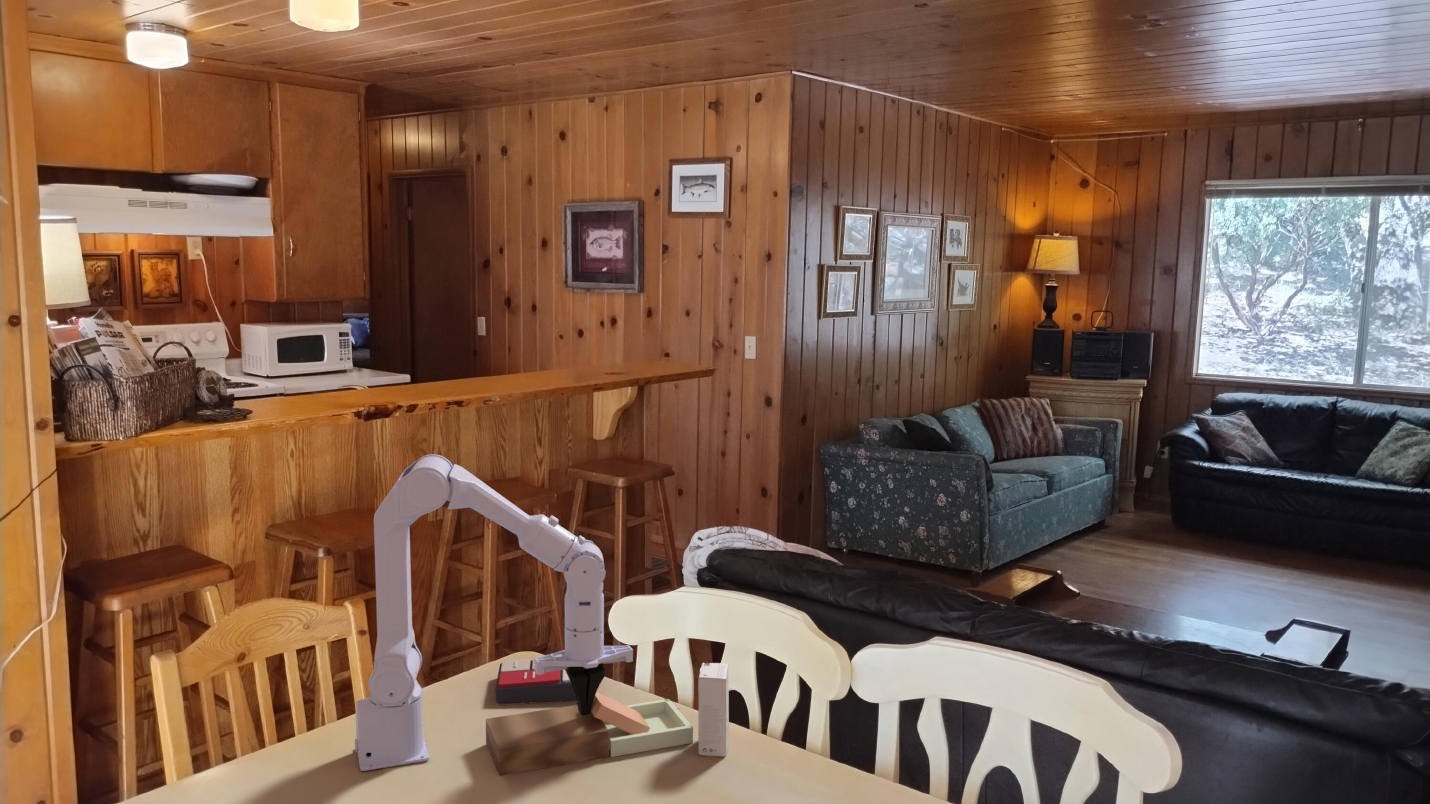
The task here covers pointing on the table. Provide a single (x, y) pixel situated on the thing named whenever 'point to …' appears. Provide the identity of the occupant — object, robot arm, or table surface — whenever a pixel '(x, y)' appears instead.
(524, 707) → the table surface
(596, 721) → the brown wooden block
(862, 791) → the table surface
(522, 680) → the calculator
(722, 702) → the skincare box
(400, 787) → the table surface
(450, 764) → the table surface
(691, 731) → the tray
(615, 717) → the tile
